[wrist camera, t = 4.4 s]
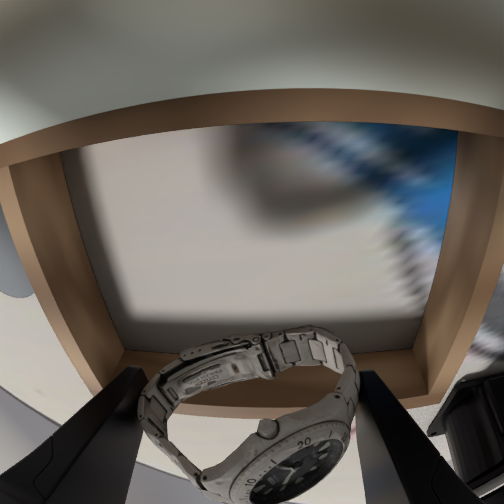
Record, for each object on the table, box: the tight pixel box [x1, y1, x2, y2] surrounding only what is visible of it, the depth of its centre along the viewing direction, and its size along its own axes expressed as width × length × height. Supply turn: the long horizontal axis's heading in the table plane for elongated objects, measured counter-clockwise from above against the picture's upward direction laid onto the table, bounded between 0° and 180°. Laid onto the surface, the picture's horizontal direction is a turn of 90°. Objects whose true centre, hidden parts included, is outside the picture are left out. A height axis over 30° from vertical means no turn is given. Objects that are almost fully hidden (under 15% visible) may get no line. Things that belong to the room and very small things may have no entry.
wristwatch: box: [137, 325, 360, 504], centre depth 8 cm, size 4×6×5 cm, turn 107°
